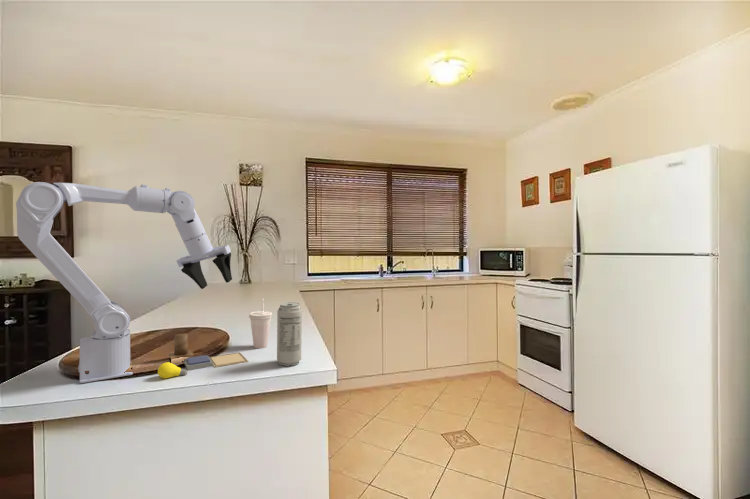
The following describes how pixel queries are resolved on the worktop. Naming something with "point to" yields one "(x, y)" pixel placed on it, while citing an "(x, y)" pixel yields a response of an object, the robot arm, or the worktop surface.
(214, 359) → the card sheet
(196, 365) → the ink pad
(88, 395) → the worktop surface
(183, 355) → the stamp
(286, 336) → the energy drink can
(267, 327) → the smoothie
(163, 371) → the light bulb
